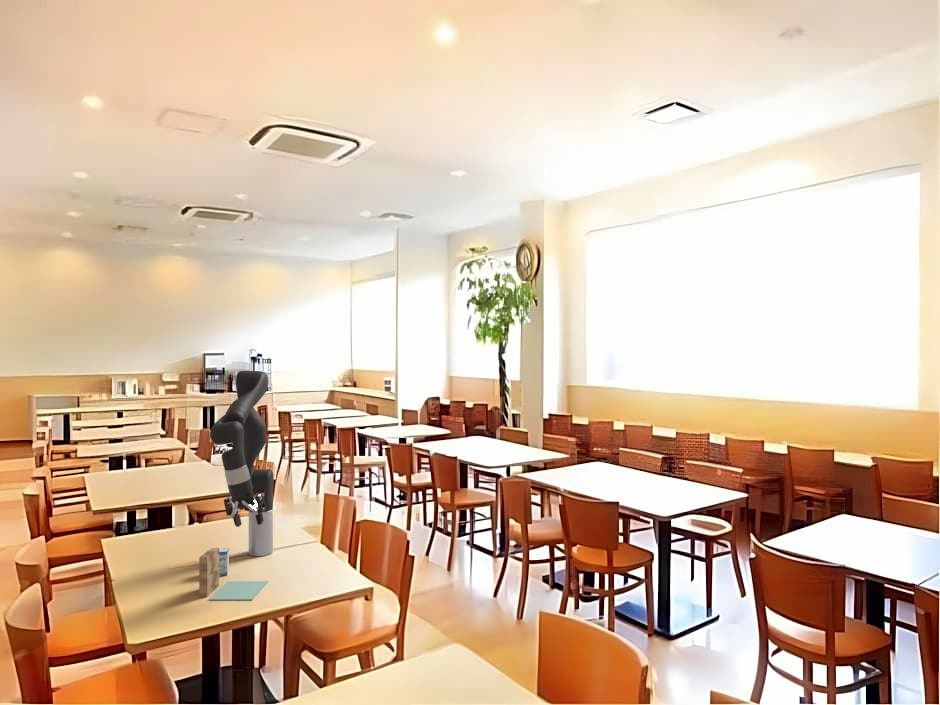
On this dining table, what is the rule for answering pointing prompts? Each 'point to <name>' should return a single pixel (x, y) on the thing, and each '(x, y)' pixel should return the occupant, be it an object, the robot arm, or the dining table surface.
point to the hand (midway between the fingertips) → (249, 524)
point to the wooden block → (208, 572)
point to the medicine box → (223, 561)
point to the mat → (238, 590)
